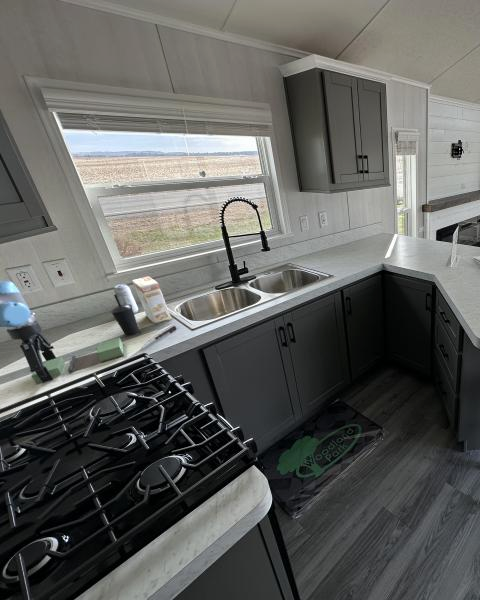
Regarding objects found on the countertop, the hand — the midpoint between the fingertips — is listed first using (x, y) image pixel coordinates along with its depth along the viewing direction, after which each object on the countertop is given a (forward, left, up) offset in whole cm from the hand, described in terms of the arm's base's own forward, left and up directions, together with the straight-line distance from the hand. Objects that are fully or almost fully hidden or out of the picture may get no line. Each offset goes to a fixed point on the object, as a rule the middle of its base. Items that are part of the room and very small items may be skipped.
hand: (52, 373), depth 122 cm
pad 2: (+18, 0, +1) cm, 18 cm away
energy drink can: (+25, +44, 0) cm, 50 cm away
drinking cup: (+25, +15, 0) cm, 29 cm away
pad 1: (0, 0, 0) cm, 0 cm away
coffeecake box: (+35, +27, 0) cm, 45 cm away
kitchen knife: (+34, +2, 0) cm, 34 cm away
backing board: (+14, 0, 0) cm, 14 cm away
